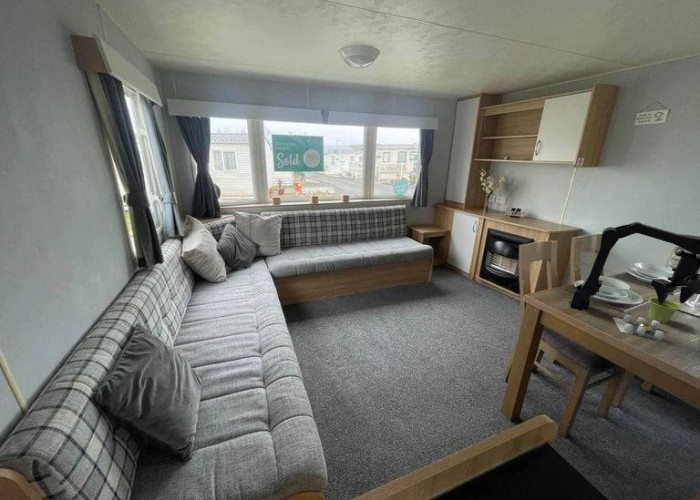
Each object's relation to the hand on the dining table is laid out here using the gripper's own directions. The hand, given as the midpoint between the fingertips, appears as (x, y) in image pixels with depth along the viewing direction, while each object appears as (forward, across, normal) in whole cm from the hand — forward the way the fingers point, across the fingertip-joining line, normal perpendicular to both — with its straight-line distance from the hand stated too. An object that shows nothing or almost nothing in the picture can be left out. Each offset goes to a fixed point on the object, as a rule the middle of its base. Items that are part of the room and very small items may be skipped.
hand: (671, 303), depth 119 cm
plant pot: (+13, +8, +7) cm, 17 cm away
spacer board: (+13, -10, 0) cm, 16 cm away
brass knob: (+12, -8, -1) cm, 15 cm away
